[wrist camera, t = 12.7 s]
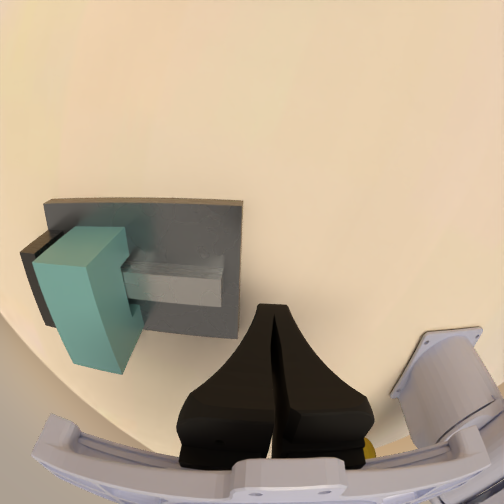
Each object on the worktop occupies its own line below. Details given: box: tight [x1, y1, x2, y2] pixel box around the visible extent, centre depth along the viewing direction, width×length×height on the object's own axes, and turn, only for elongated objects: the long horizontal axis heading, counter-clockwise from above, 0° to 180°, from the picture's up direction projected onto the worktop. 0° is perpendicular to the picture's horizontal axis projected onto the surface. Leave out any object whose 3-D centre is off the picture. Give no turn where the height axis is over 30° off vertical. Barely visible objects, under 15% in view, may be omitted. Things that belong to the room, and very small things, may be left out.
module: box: [32, 226, 144, 375], centre depth 17 cm, size 4×8×5 cm, turn 178°
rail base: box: [20, 198, 243, 339], centre depth 17 cm, size 14×10×4 cm
